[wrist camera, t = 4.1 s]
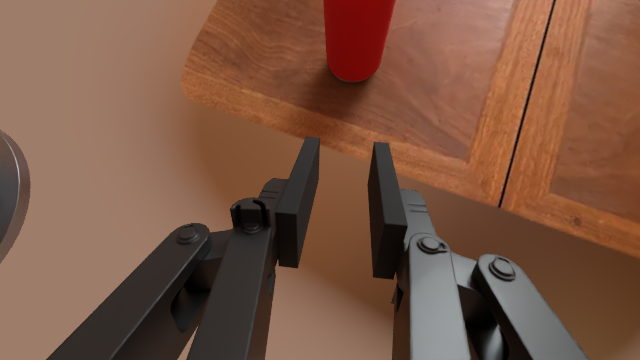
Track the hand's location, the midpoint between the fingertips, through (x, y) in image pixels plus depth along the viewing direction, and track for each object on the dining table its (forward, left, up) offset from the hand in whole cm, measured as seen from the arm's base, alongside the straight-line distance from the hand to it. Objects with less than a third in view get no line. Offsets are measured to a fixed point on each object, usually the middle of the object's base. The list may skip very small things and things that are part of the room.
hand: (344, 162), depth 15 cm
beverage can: (0, +16, -13) cm, 21 cm away
